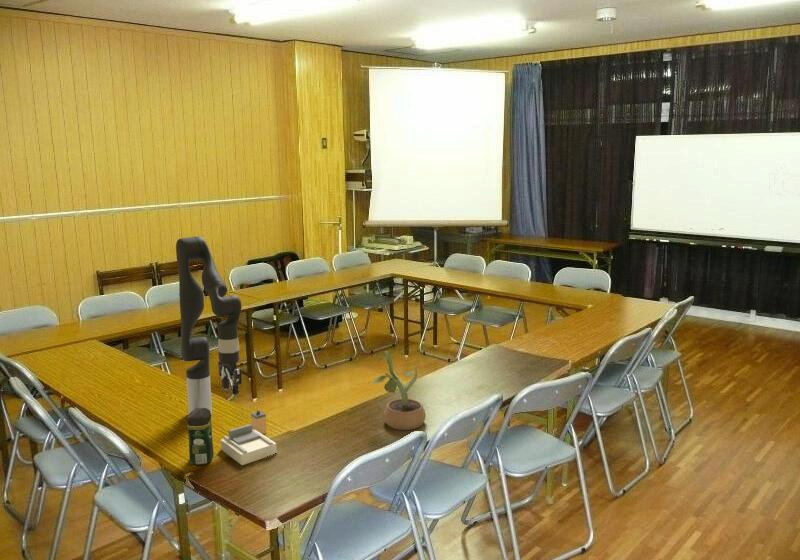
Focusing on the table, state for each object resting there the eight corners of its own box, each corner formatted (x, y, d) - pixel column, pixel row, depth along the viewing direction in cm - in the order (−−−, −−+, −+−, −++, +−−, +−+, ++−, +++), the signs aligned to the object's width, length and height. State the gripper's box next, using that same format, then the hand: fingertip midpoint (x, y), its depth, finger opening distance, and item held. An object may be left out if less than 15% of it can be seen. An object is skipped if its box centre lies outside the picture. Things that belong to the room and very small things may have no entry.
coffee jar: (193, 454, 248) (190, 406, 244) (215, 453, 249) (212, 405, 245) (187, 466, 239) (183, 416, 235) (210, 465, 239) (207, 416, 235)
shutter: (229, 438, 251) (228, 430, 250) (251, 431, 257) (250, 423, 256) (237, 444, 246) (236, 436, 246) (259, 437, 252) (259, 429, 251)
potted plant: (426, 414, 285) (427, 345, 279) (424, 432, 267) (425, 359, 261) (372, 412, 286) (372, 344, 280) (367, 430, 269) (367, 357, 263)
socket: (221, 449, 252) (220, 437, 251) (255, 439, 261) (254, 427, 260) (241, 465, 240) (241, 452, 239) (276, 453, 249) (276, 441, 248)
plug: (252, 432, 266) (251, 410, 264) (261, 429, 269) (260, 408, 267) (257, 436, 263) (256, 413, 262) (266, 433, 266) (265, 411, 264)
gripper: (210, 346, 255) (212, 388, 259) (228, 355, 244) (230, 399, 248) (228, 342, 260) (230, 383, 263) (247, 351, 249) (249, 394, 253)
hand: (230, 391), depth 256 cm, fingers open, 7 cm apart
